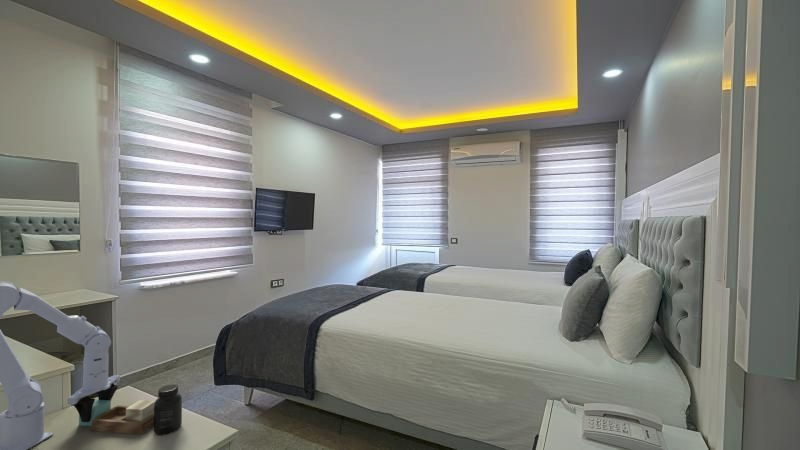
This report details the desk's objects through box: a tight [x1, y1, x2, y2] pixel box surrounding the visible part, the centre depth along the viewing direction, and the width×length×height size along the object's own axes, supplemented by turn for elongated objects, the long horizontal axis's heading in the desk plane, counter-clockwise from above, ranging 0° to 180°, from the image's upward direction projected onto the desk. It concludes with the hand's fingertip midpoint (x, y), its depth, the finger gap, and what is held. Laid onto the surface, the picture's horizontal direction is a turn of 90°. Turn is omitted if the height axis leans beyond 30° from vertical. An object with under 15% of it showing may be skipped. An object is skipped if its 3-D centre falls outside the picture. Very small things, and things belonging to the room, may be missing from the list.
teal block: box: [78, 399, 112, 427], centre depth 103 cm, size 5×5×5 cm
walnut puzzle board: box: [90, 399, 156, 435], centre depth 101 cm, size 16×8×6 cm, turn 86°
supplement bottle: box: [153, 383, 183, 436], centre depth 99 cm, size 7×7×12 cm
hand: (95, 416), depth 103 cm, fingers closed on teal block, 5 cm apart
